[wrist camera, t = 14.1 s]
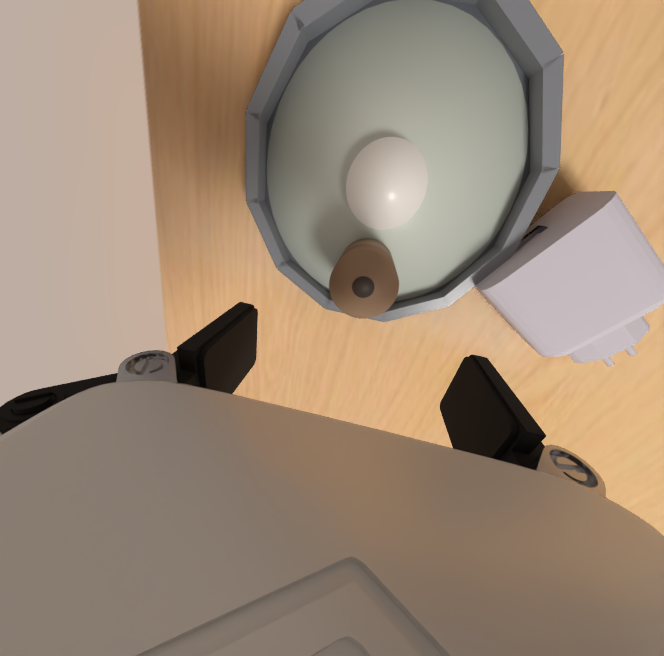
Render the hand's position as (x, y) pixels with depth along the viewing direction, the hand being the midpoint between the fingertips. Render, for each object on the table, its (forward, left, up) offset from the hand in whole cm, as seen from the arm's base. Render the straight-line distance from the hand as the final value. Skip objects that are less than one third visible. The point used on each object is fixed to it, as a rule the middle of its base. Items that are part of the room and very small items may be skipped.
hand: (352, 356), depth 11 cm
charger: (+1, -18, -15) cm, 24 cm away
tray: (+7, 0, -15) cm, 17 cm away
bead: (+1, 0, -14) cm, 14 cm away
